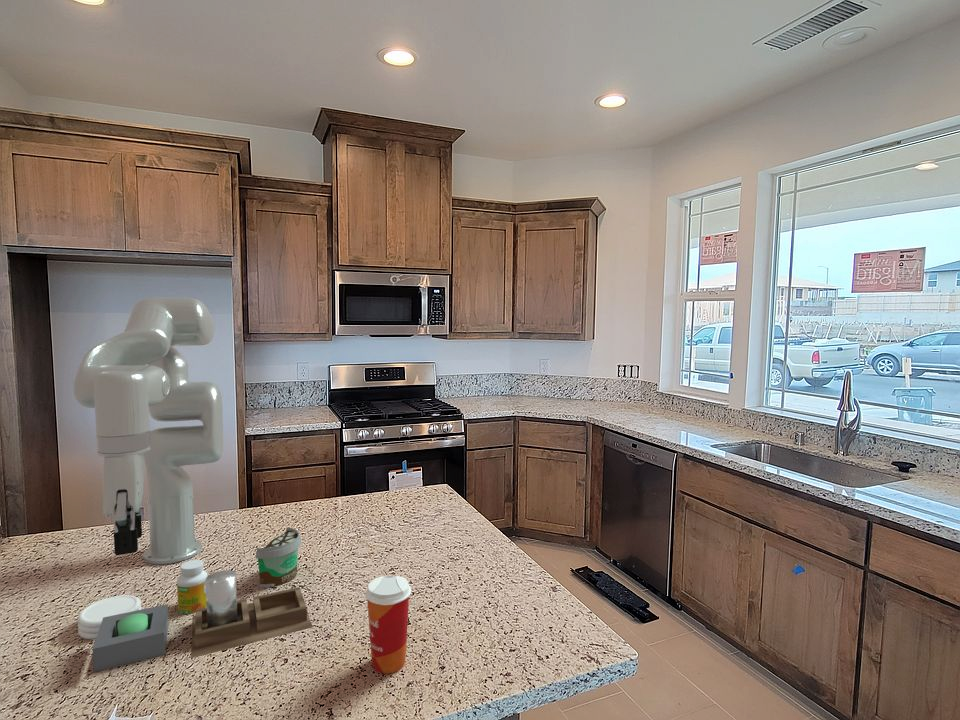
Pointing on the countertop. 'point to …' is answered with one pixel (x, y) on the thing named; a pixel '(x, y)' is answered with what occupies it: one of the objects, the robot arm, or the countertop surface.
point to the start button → (133, 624)
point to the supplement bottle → (191, 587)
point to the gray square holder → (130, 640)
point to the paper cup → (388, 622)
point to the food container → (279, 559)
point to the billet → (221, 598)
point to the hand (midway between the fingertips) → (129, 544)
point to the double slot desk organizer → (252, 622)
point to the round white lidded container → (104, 613)
